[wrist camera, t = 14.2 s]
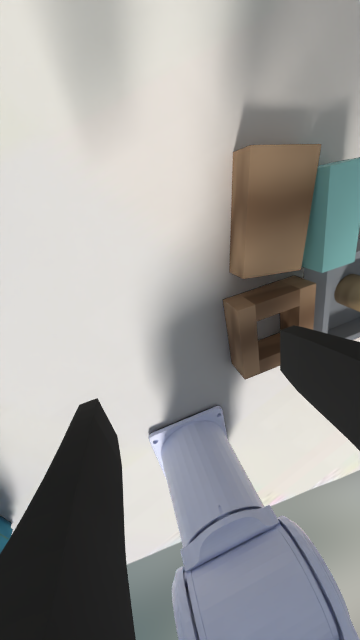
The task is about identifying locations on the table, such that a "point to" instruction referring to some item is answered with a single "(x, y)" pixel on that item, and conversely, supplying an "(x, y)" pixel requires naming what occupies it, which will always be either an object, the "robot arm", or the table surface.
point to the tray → (327, 310)
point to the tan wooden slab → (271, 207)
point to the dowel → (349, 292)
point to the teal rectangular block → (333, 217)
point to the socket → (260, 303)
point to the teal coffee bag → (4, 532)
